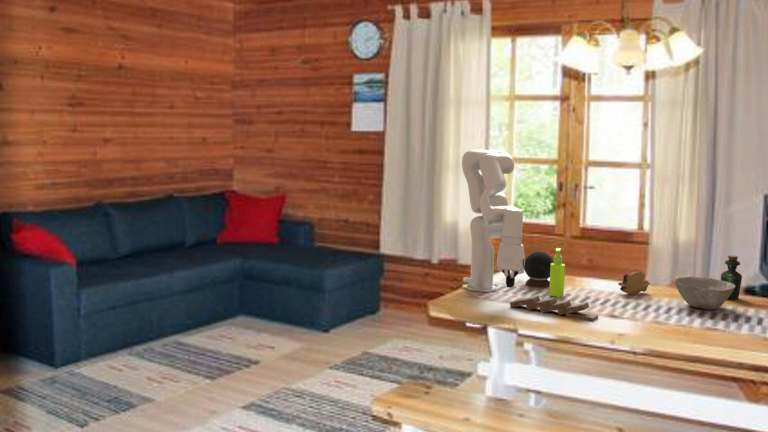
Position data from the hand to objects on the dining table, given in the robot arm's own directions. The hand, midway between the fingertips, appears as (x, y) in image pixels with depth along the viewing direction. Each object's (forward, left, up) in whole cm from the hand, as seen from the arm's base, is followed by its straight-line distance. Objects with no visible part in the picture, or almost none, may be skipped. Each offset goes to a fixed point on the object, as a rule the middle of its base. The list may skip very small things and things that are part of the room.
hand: (510, 286), depth 292 cm
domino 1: (+2, 0, -6) cm, 7 cm away
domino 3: (+14, 0, -6) cm, 15 cm away
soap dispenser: (+8, +28, -8) cm, 30 cm away
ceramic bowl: (+62, +45, -8) cm, 77 cm away
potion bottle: (+68, +69, -8) cm, 98 cm away
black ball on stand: (-6, +43, -8) cm, 44 cm away
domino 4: (+21, 0, -6) cm, 22 cm away
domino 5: (+24, 0, -7) cm, 25 cm away
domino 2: (+8, 0, -6) cm, 11 cm away
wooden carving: (+34, +51, -8) cm, 62 cm away
